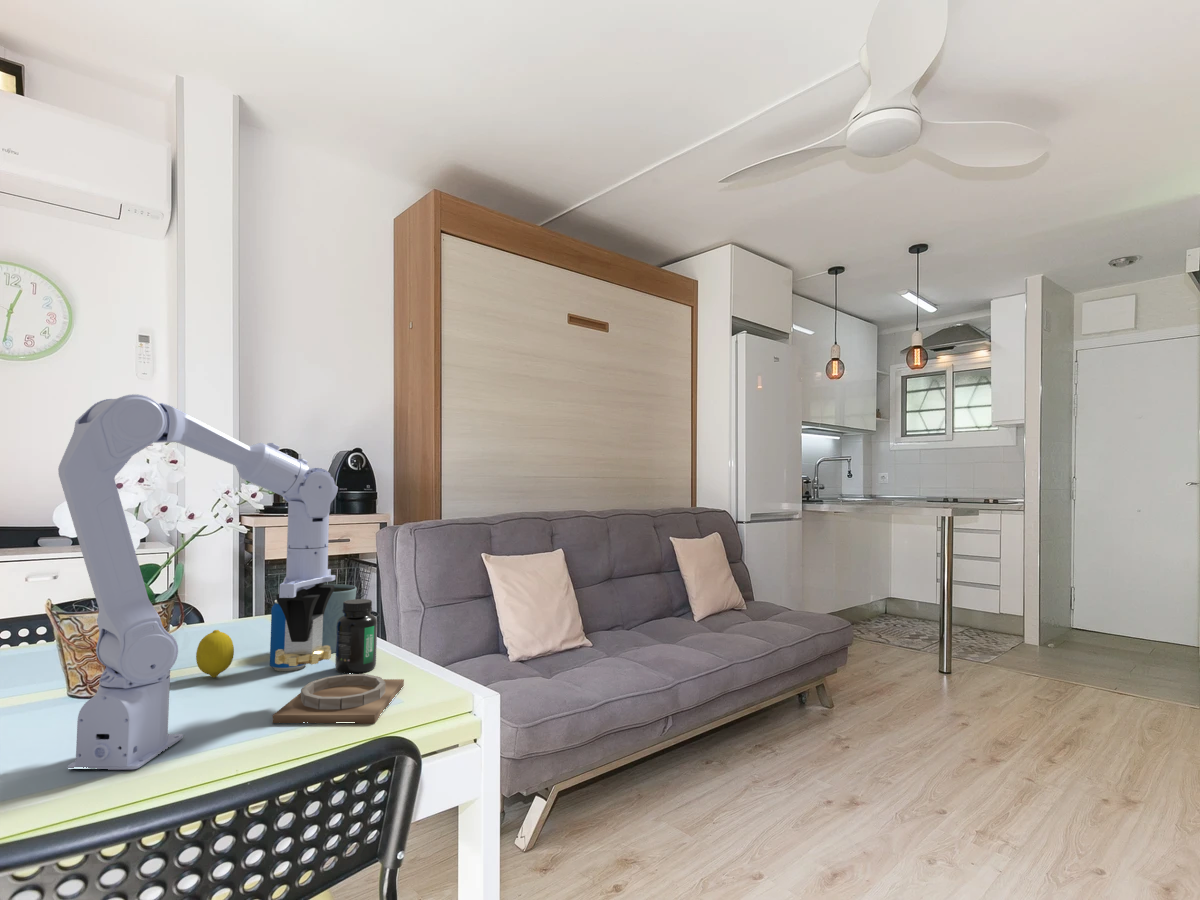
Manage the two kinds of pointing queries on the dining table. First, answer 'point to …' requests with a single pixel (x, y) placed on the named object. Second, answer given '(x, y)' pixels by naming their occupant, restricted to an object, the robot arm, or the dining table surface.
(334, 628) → the green plant pot
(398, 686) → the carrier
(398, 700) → the dining table surface
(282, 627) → the beverage can
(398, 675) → the dining table surface
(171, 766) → the dining table surface
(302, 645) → the gear
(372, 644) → the supplement bottle
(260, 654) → the dining table surface
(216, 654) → the lemon
